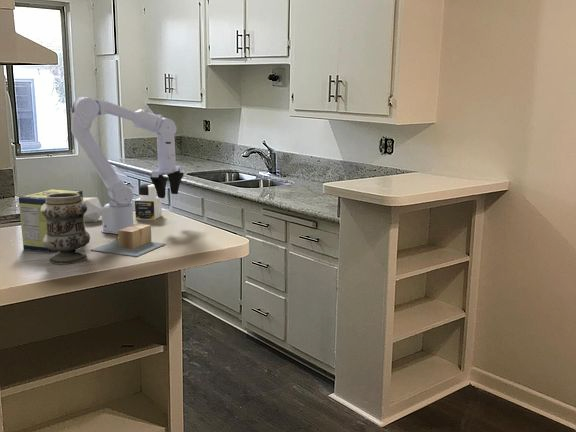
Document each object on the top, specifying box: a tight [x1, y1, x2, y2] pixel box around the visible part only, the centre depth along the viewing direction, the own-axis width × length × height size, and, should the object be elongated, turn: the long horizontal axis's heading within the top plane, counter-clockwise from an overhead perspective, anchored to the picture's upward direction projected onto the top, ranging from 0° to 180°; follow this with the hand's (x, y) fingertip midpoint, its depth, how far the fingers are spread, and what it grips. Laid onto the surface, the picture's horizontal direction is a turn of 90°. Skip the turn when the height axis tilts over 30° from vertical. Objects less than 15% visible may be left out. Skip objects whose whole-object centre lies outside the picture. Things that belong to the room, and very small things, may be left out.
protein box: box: [18, 188, 86, 253], centre depth 176 cm, size 10×16×16 cm
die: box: [83, 197, 103, 223], centre depth 207 cm, size 8×9×10 cm
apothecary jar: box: [41, 192, 91, 265], centre depth 161 cm, size 12×12×18 cm
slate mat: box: [90, 239, 167, 258], centre depth 174 cm, size 16×14×1 cm
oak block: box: [117, 223, 152, 249], centre depth 177 cm, size 5×5×9 cm
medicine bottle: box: [134, 183, 163, 221], centre depth 211 cm, size 7×7×12 cm
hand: (168, 195), depth 198 cm, fingers open, 7 cm apart
